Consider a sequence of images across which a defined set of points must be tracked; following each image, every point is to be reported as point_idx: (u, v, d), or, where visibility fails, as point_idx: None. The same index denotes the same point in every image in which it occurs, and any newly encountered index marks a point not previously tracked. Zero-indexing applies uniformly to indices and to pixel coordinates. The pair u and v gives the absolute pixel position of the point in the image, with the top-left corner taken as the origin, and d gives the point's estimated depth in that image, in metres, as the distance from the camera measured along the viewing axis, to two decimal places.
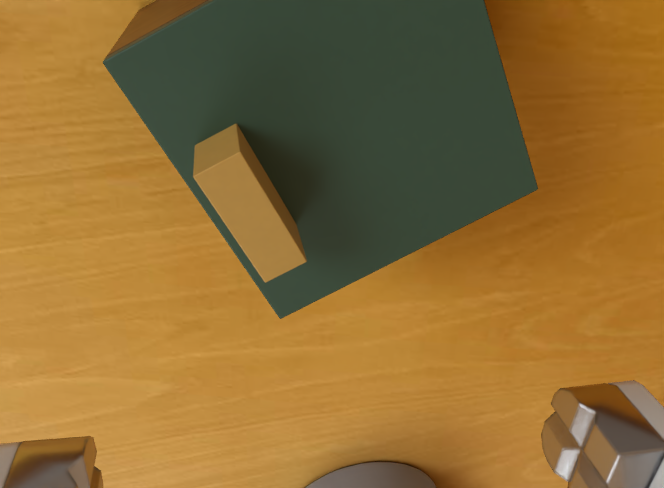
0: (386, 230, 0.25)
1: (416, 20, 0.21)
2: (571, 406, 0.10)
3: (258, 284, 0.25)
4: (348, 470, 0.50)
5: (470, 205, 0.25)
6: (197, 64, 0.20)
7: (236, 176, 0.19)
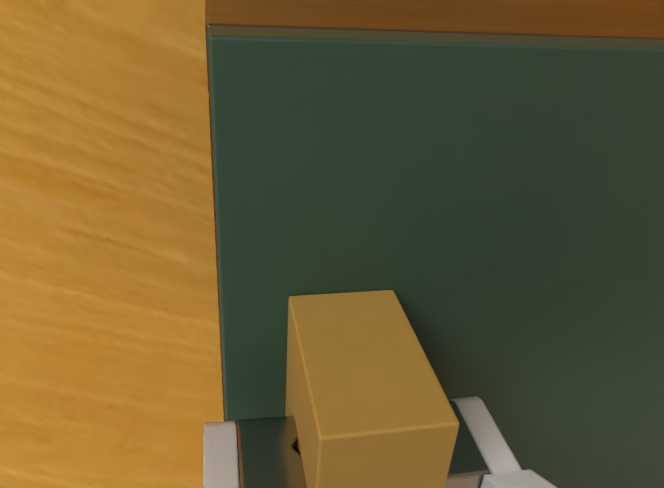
0: None
1: None
2: None
3: None
4: None
5: None
6: (404, 151, 0.08)
7: (412, 467, 0.07)
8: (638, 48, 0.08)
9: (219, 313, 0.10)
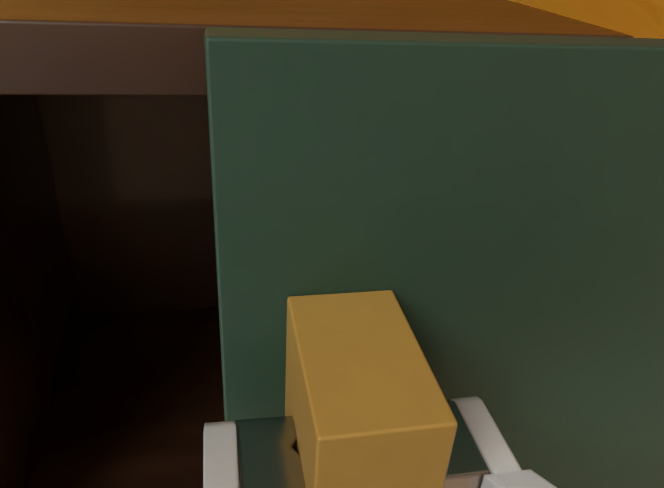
0: None
1: None
2: None
3: None
4: None
5: None
6: (401, 151, 0.08)
7: (410, 467, 0.07)
8: (636, 47, 0.08)
9: None
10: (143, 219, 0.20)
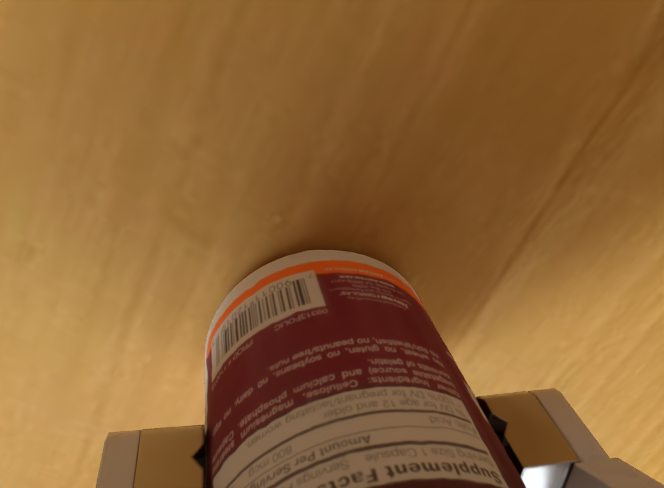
0: None
1: None
2: (486, 416, 0.10)
3: None
4: None
5: None
6: None
7: None
8: None
9: None
10: None
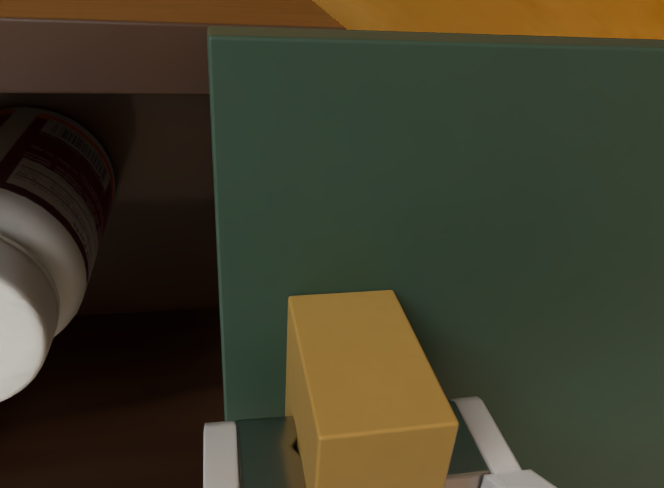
0: None
1: None
2: None
3: None
4: None
5: None
6: (403, 151, 0.08)
7: (411, 467, 0.07)
8: (638, 48, 0.08)
9: None
10: None
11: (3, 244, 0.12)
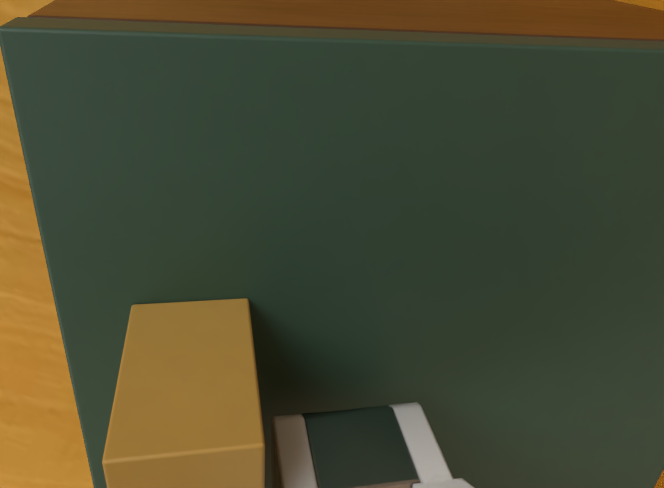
0: None
1: (659, 264, 0.11)
2: (338, 432, 0.09)
3: None
4: None
5: None
6: (237, 151, 0.08)
7: None
8: (485, 44, 0.08)
9: None
10: None
11: None
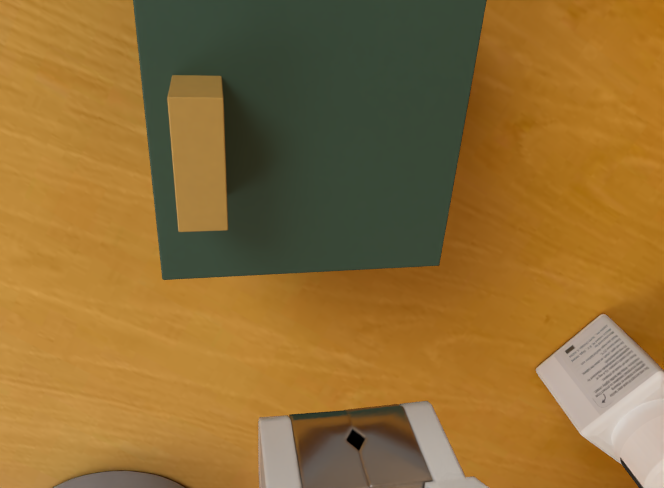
0: (300, 241, 0.26)
1: (413, 73, 0.23)
2: (349, 430, 0.09)
3: (160, 236, 0.24)
4: (129, 475, 0.47)
5: (380, 253, 0.27)
6: (215, 5, 0.20)
7: (207, 118, 0.19)
8: None
9: None
10: None
11: None
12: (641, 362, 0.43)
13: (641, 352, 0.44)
